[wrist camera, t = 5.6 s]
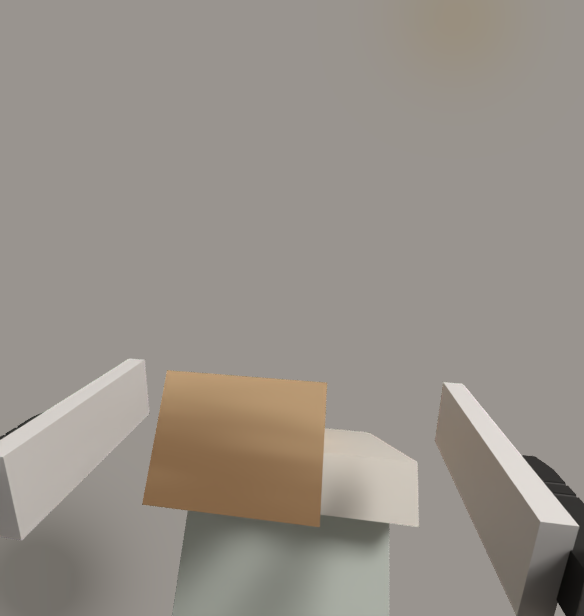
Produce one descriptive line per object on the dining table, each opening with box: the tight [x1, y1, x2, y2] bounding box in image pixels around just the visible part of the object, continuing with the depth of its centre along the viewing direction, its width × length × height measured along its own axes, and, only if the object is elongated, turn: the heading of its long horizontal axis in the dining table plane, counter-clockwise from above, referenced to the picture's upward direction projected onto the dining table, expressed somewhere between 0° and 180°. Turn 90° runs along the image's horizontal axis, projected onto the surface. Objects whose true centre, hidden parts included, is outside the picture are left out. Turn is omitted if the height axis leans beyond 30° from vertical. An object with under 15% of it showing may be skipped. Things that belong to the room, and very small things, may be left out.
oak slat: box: [142, 370, 327, 527], centre depth 22 cm, size 30×4×3 cm, turn 174°
